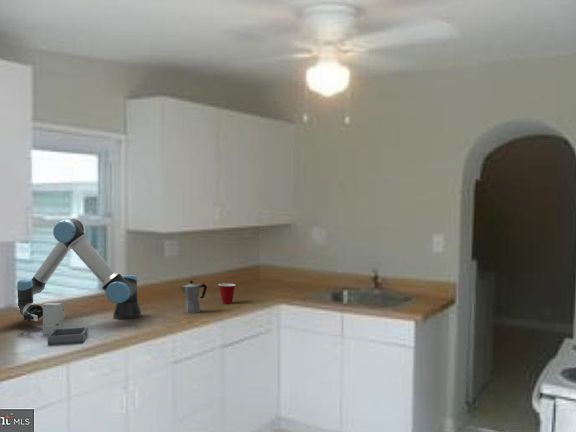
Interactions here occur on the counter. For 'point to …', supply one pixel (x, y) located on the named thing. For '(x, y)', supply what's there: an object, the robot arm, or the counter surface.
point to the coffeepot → (193, 297)
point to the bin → (68, 336)
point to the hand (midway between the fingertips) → (50, 316)
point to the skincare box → (52, 317)
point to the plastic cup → (227, 292)
